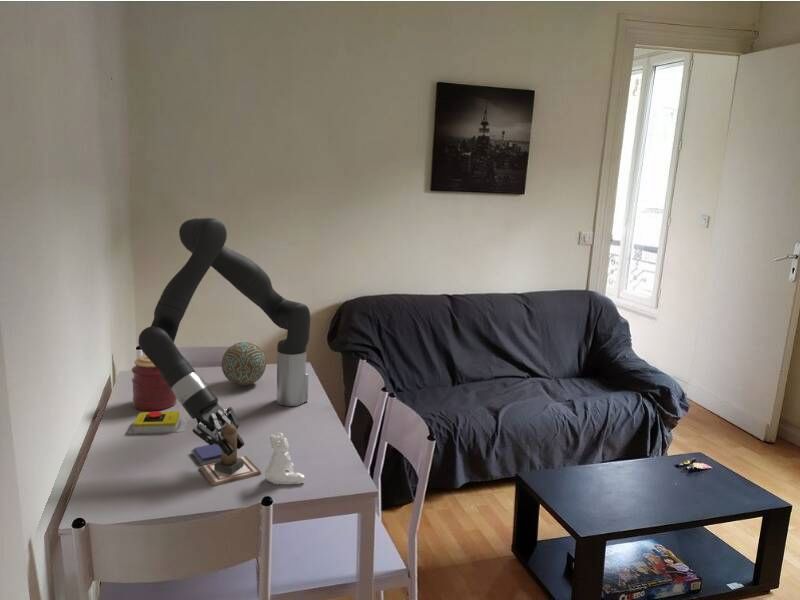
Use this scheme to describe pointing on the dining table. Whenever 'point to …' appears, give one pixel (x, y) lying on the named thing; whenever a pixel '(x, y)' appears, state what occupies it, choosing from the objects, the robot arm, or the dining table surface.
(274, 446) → the seated beast figurine
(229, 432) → the stamp
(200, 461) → the ink pad
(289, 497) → the dining table surface
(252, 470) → the framed board
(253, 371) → the decorative sphere
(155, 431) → the emergency button
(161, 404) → the canister
